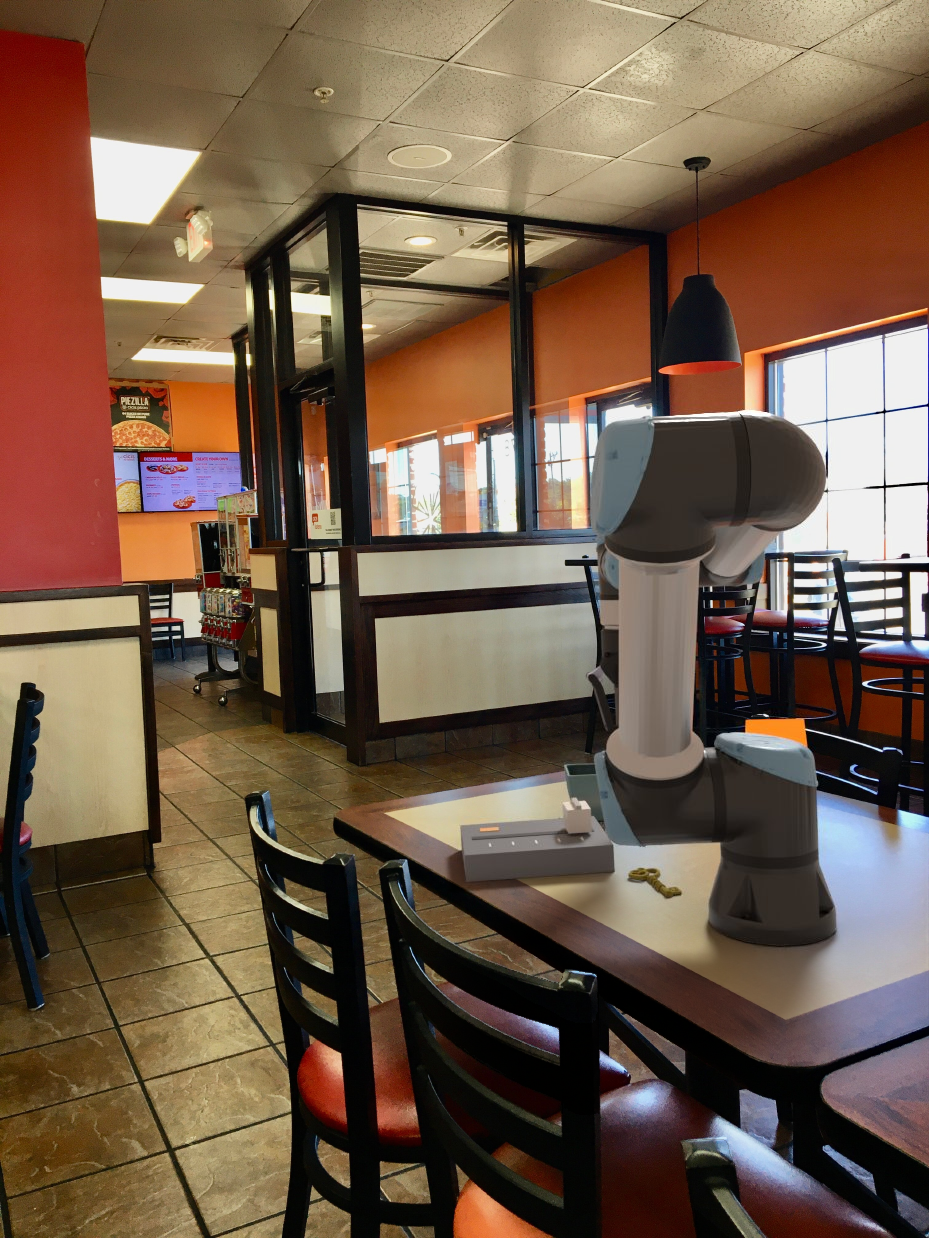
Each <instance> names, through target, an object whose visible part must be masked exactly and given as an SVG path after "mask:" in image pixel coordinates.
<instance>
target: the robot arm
mask: <svg viewBox="0 0 929 1238" xmlns="http://www.w3.org/2000/svg"><path fill="white" fill-rule="evenodd" d="M826 483H827V470H826V465H825V461H824V458H823V455H822V454H821V451H820V450H819V448H818V446H817V444H816V443H815V442H814V440H813V439H812V438H811V437H810V436H809V435H808V434H807V432H805V430H803V429H802V428H800V427H799V426H797V425H796V424H794V423H793V422H792V421H789V420H787V418H784V417H782V416H779V415H776V414H773V413H770V412H764V411H758V410H740V411H738V410H737V411H736V410H735V411H732V412H715V413H713V412H711V413H697V414H684V415H666V416H665V415H664V416H663V415H662V416H650V415H644V416H642V417H640V418H632V419H623V420H616V421H612V422H610V423H608V424H607V425H606V426H605V427H604V428H603V429H602V431H601V432H600V434H599V436H598V439H597V443H596V447H595V452H594V457H593V463H592V470H591V482H590V506H589V517H590V518H589V519H590V525H591V526H590V528H591V530H592V532H593V533H594V534H596V547H595V550H596V556H597V575H598V586H599V612H600V614H599V615H600V617H599V618H600V624H601V625H602V626H604V628H602V629H601V630H600V639H601V641H600V642H601V657H600V660H599V661H598V662H599V663H598V665H599V666H597V667H596V668H595V669H593V670H592V671H589V672H587V673H586V674H585V678H586V680H587V681H588V682H589V684H590V685H591V686H592V688H593V692H594V696H595V698H596V702H597V705H598V709H599V712H600V715H601V720H602V722H603V726H604V728H605V730H606V731H607V732H608V733H609V734H610V735H609V737H608V739H607V742H606V750H602V751H599V752H597V753H595V754H594V757H593V758H594V759H593V761H594V763H595V769H596V776H597V782H598V788H599V794H600V798H601V806H602V812H603V818H604V821H603V822H604V823H603V824H604V827H605V833H606V835H607V836H608V838H609V839H610V840H611V842H612V843H613V844H615V845H618V846H626V847H627V846H633V847H639V848H641V847H642V848H646V847H647V846H666V845H668V846H670V845H685V844H687V845H688V844H690V845H691V844H715V843H716V844H717V843H720V844H719V845H720V859H719V861H720V862H719V863H718V864H719V865H718V869H717V871H716V875H715V877H714V878H715V879H714V881H713V885H712V889H711V892H710V896H709V899H708V908H707V909H708V921H709V923H710V925H711V926H712V928H713V929H714V930H716V931H717V932H719V933H721V934H723V935H725V936H727V937H730V938H732V939H735V940H739V941H743V942H746V943H751V944H758V945H767V946H799V945H807V944H812V943H817V942H819V941H824V939H828V938H829V937H831V936H832V935H833V934H834V933H835V932H836V930H837V909H836V904H835V903H834V900H833V898H832V897H833V896H832V894H831V891H830V889H829V886H828V884H827V881H826V878H825V876H824V874H823V870H822V867H821V865H820V857H819V854H820V853H819V820H818V796H817V795H818V793H817V792H818V791H817V787H818V786H819V782H818V780H817V770H816V762H815V756H814V754H813V752H812V751H811V750H810V748H808V746H807V747H806V746H805V745H803V744H801V743H799V742H796V741H793V740H790V739H785V738H781V737H776V736H771V735H764V734H755V733H746V732H739V731H738V732H736V731H735V732H729V733H728V732H722V733H720V734H718V735H716V737H715V738H716V739H715V740H714V741H713V742H714V744H713V745H714V747H704V742H702V739H701V738H700V737H699V735H697V734H696V733H695V732H694V731H693V724H694V723H693V720H694V719H693V718H694V717H693V716H694V699H695V698H694V694H695V676H696V675H695V673H696V655H697V654H696V653H697V627H698V606H699V605H698V604H699V603H698V602H699V588H704V587H705V588H706V587H740V586H743V585H751V584H753V585H754V584H756V583H758V582H760V581H761V579H762V578H763V575H764V571H765V564H766V555H765V554H766V552H765V550H766V549H767V548H768V547H769V546H770V544H771V543H772V542H773V541H774V540H775V539H776V538H777V537H778V536H780V534H781V533H783V532H786V531H789V530H792V529H794V528H796V527H798V526H799V525H801V524H803V522H804V521H806V520H807V519H808V518H809V517H810V516H811V514H813V513H814V512H815V510H816V509H817V507H818V506H819V504H820V502H821V501H822V498H823V497H824V493H825V489H826V485H827V484H826ZM603 674H604V675H605V676H606V677H607V679H608V680H609V681H610V683H612V685H613V691H614V704H615V706H614V707H615V708H614V709H615V723H614V720H613V715H612V712H611V709H610V706H609V703H608V699H607V695H606V692H605V689H604V686H603V684H602V683H603V682H604V677H603Z"/></svg>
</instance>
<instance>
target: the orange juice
mask: <svg viewBox="0 0 929 1238" xmlns="http://www.w3.org/2000/svg"><path fill="white" fill-rule="evenodd" d="M745 733H755V734H764V735H771V736H776V737H781V738H785V739H790V740H793V741H796V742H799V743H801V744H803V745H805V746H806V747H807V748H808V742H807V734H806V725H805V719H804V718H785V719H784V718H779V719H777V718H776V719H770V718H769V719H745Z"/></svg>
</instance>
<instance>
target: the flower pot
mask: <svg viewBox="0 0 929 1238" xmlns="http://www.w3.org/2000/svg"><path fill="white" fill-rule="evenodd" d="M563 769H564V775H565V782H566V788H567V794H568V798H569V801H571V798H577V800H578V801H586V803H587V804H588V806H589V807H590V809H591V816H594V817H595V818H596V820H597V821H598V822H599V821H600V822H601V821H602V822H604V818H603V812H602V806H601V798H600V794H599V788H598V782H597V776H596V769H595V762H594V763H573V764H571V763H570V764H569V763H568V764H564V765H563Z"/></svg>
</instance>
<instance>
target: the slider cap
mask: <svg viewBox="0 0 929 1238" xmlns="http://www.w3.org/2000/svg"><path fill="white" fill-rule="evenodd" d="M562 818H563V822H564V826H565V828H566V830H567V832H568V834H570V833H584V832H592V825H591V809H590V807H589V806H588V804H587V803H586V801H578V800H577V798H571V800H570V801H563V802H562Z"/></svg>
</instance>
